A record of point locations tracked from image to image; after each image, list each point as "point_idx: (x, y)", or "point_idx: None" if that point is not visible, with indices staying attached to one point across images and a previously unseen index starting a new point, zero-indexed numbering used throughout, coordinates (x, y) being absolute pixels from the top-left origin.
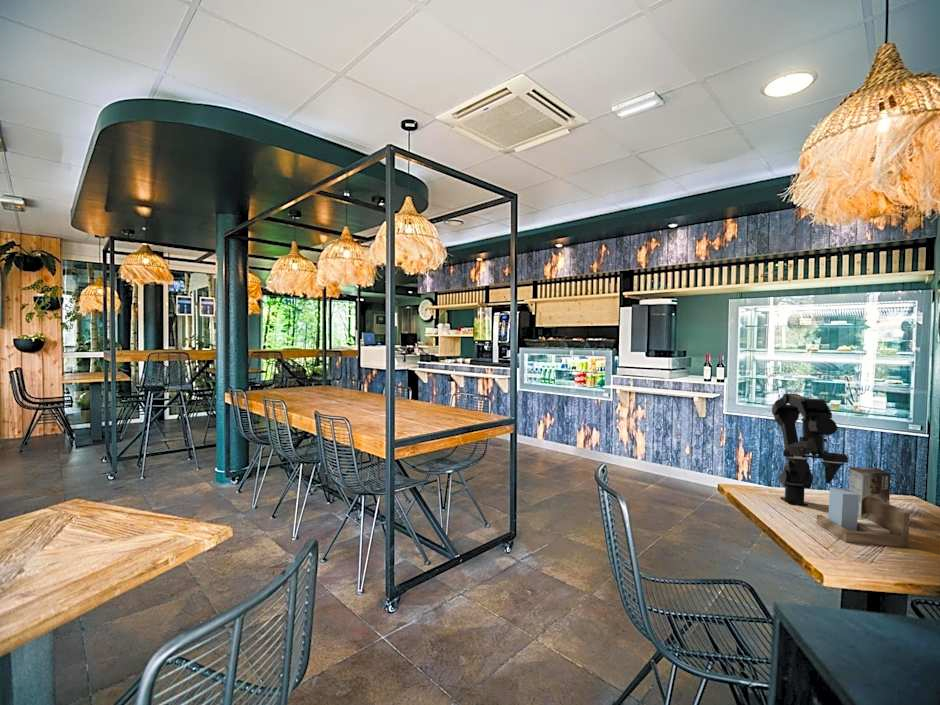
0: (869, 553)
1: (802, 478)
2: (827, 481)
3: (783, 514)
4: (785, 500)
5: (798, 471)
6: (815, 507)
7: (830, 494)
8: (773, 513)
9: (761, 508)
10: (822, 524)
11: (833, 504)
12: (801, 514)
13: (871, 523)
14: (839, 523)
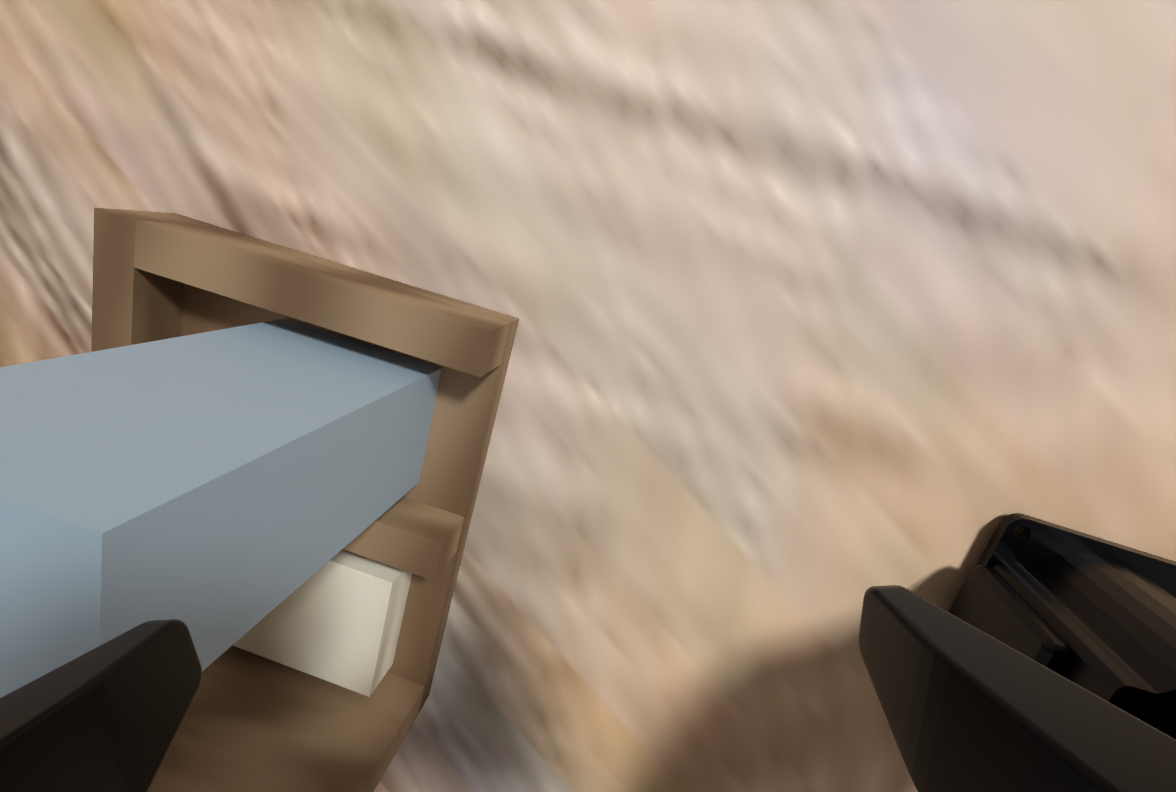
0: (20, 216)
1: (871, 625)
2: (102, 649)
3: (774, 176)
4: (1100, 540)
5: (1090, 728)
6: (868, 684)
7: (197, 467)
8: (823, 70)
9: (1002, 38)
10: (428, 296)
11: (231, 403)
12: (739, 383)
13: (312, 644)
14: (261, 334)
